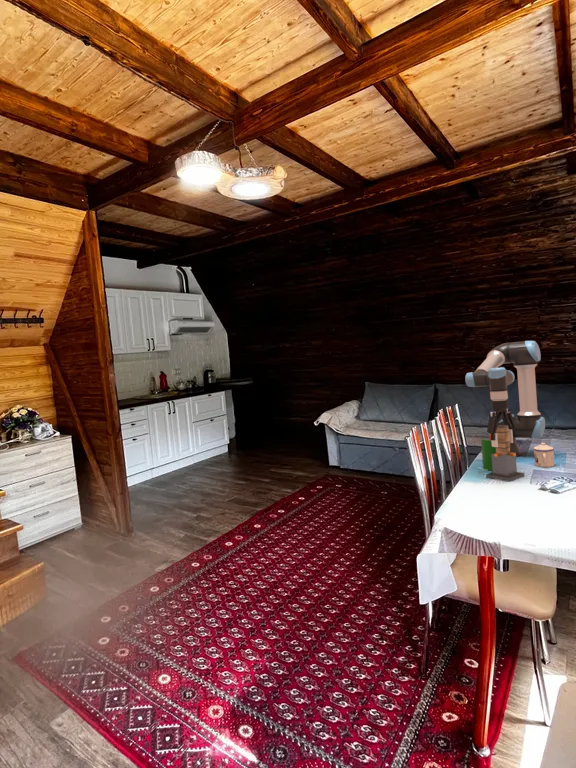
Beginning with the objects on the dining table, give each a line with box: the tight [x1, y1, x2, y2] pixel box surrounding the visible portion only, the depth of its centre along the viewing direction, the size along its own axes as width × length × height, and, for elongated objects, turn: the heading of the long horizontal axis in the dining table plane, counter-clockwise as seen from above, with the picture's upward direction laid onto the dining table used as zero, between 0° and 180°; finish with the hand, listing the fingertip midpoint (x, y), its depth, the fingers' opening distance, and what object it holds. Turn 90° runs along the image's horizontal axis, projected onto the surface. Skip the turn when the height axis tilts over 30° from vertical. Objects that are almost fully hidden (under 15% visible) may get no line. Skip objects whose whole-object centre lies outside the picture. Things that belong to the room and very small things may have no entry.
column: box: [496, 425, 510, 455], centre depth 210 cm, size 5×5×23 cm
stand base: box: [485, 452, 525, 483], centre depth 211 cm, size 12×12×12 cm
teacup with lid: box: [533, 442, 555, 468], centre depth 223 cm, size 12×9×12 cm
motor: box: [480, 433, 496, 472], centre depth 226 cm, size 10×9×20 cm
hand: (502, 444), depth 210 cm, fingers open, 11 cm apart
